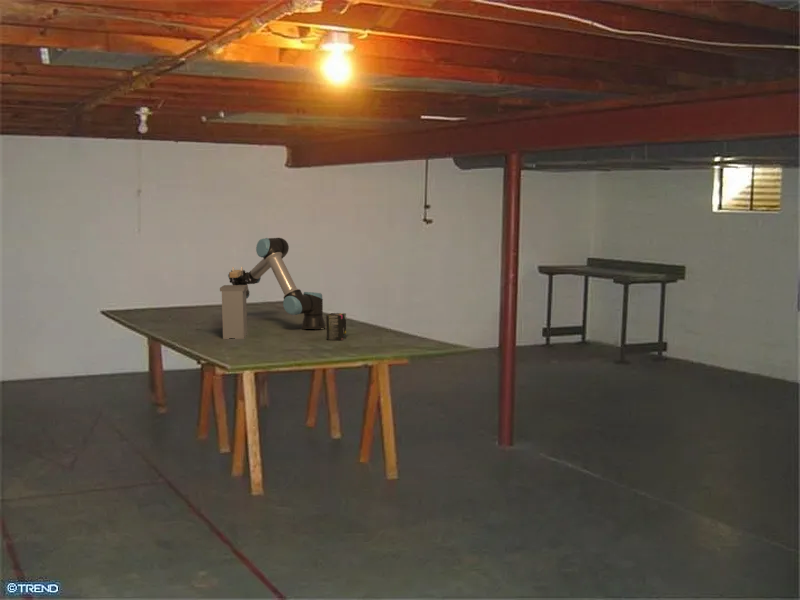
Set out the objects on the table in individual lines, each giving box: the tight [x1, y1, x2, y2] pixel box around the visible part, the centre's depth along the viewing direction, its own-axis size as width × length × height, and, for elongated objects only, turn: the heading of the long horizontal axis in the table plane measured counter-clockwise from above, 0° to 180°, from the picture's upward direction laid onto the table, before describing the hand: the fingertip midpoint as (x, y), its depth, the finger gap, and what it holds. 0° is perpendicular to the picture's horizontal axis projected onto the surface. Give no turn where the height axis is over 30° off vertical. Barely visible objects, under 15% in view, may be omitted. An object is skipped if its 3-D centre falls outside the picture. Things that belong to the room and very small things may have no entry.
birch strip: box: [228, 269, 242, 278], centre depth 547 cm, size 28×4×3 cm, turn 3°
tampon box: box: [325, 312, 347, 341], centre depth 518 cm, size 11×9×15 cm
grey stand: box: [219, 284, 249, 340], centre depth 529 cm, size 18×14×30 cm
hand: (237, 268), depth 552 cm, fingers closed on birch strip, 4 cm apart
